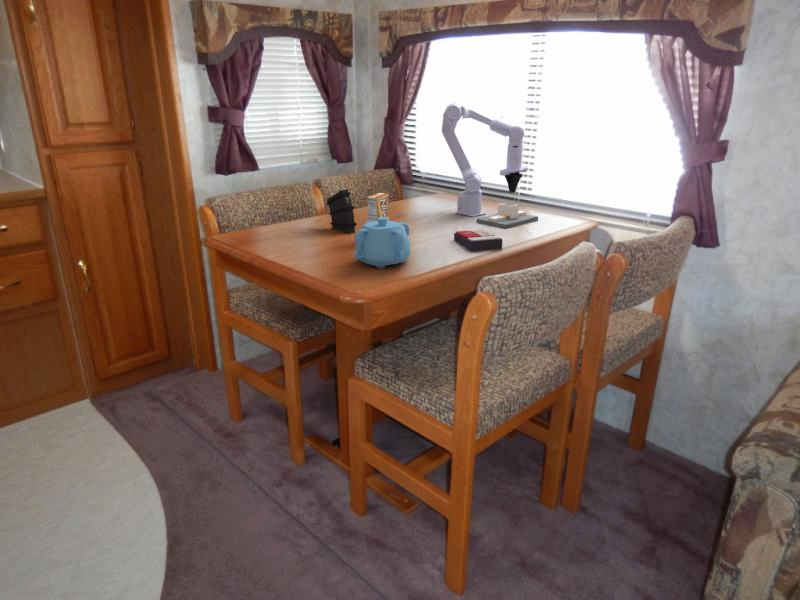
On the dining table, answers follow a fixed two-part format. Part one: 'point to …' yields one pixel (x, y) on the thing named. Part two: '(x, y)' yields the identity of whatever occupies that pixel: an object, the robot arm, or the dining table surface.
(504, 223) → the rail board
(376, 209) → the candy box
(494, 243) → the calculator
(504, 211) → the block
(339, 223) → the black ribbed block
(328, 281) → the dining table surface
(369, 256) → the decorative pot
